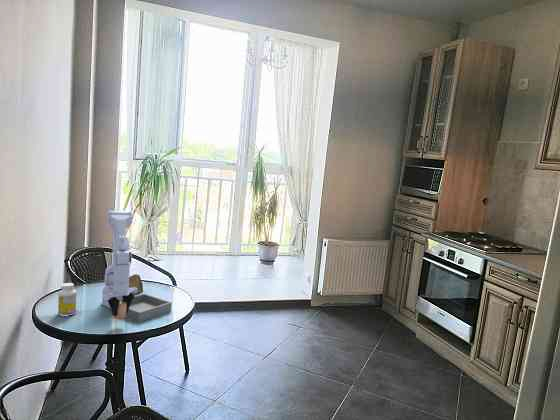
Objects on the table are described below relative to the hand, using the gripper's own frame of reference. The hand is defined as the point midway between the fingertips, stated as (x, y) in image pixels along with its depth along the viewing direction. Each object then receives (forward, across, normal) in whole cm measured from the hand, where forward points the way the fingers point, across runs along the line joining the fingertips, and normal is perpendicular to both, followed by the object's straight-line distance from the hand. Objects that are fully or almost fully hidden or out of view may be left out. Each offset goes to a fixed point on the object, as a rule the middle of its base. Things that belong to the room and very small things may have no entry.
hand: (120, 313), depth 166 cm
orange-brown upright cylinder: (+2, 0, 0) cm, 2 cm away
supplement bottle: (+6, -6, +26) cm, 27 cm away
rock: (+6, +31, +31) cm, 44 cm away
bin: (+5, +17, +7) cm, 19 cm away
